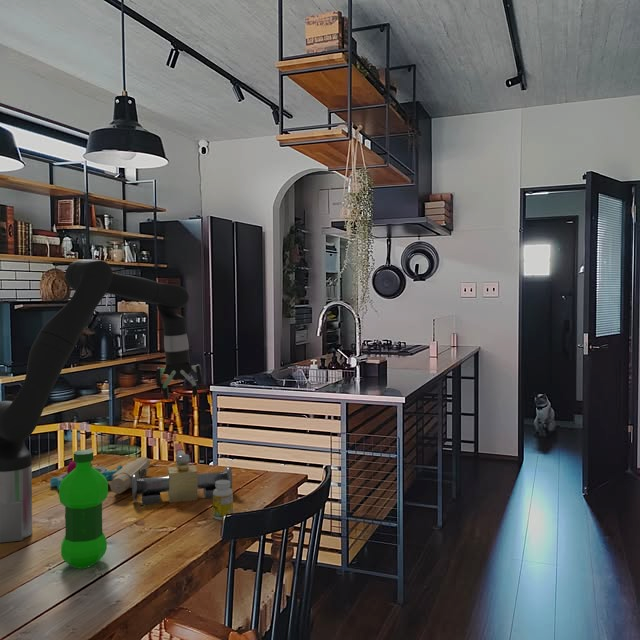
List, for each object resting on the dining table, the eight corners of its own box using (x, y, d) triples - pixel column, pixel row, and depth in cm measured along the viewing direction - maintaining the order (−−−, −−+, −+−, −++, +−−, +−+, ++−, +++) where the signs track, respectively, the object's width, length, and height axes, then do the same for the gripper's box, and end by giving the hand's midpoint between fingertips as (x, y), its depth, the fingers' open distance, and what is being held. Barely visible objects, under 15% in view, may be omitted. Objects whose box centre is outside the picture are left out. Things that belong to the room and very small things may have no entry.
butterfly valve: (32, 508, 179) (133, 498, 178) (29, 485, 178) (131, 475, 178) (71, 481, 205) (159, 472, 205) (69, 461, 205) (157, 452, 204)
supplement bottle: (235, 518, 164) (235, 483, 164) (215, 521, 162) (215, 485, 162) (229, 512, 169) (229, 477, 169) (210, 514, 167) (210, 480, 167)
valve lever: (190, 463, 179) (190, 457, 179) (176, 464, 178) (176, 458, 178) (184, 449, 196) (184, 443, 196) (171, 450, 195) (171, 443, 195)
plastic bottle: (67, 554, 141) (66, 446, 140) (114, 553, 141) (113, 446, 141) (51, 574, 131) (50, 458, 130) (102, 572, 131) (101, 457, 131)
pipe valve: (228, 489, 189) (228, 457, 188) (232, 496, 182) (232, 463, 182) (132, 498, 180) (132, 464, 179) (132, 506, 173) (132, 471, 173)
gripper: (152, 352, 190) (156, 402, 192) (198, 348, 192) (202, 399, 194) (155, 348, 198) (160, 397, 200) (200, 344, 199) (204, 393, 201)
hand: (181, 397), depth 197 cm, fingers open, 8 cm apart
